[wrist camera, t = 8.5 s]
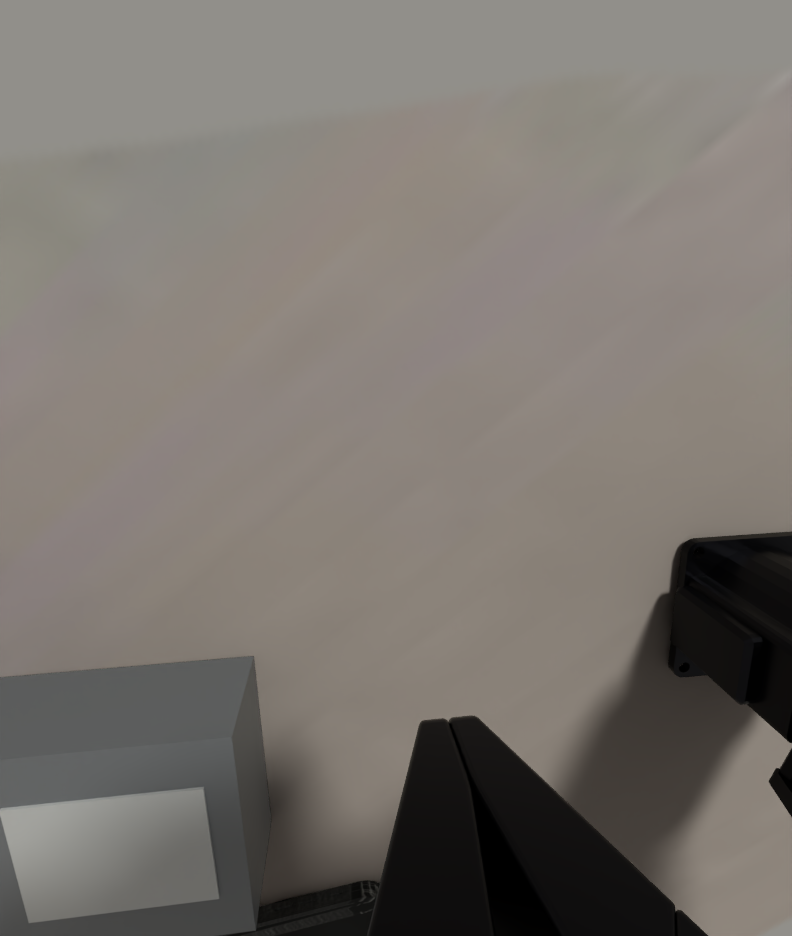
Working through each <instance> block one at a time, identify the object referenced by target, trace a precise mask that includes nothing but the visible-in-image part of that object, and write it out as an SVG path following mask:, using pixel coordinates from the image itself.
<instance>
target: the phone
mask: <svg viewBox="0 0 792 936" xmlns="http://www.w3.org/2000/svg"><path fill="white" fill-rule="evenodd" d="M379 885H380V884H379V883H377V882H375V881H360V882H356V883H352V884H348V885H344V886H340V887H336V888H332V889H328V890H324V891H320V892H316V893H312V894H308V895H304V896H300V897H297V898H293V899H289V900H285V901H281V902H277V903H273V904H269V905H265V906H261V907H259V911H258V918H257V925H256V931H249V932H241V933H234V934H226V935H219V936H367V933H368V929H369V925H370V921H371V917H372V913H373V909H374V905H375V901H376V897H377V893H378V889H379Z"/></svg>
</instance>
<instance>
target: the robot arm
mask: <svg viewBox="0 0 792 936" xmlns="http://www.w3.org/2000/svg"><path fill="white" fill-rule="evenodd" d="M696 548H698V551H697V552H696V553H695V554H693V552H694V550H695V549H696ZM670 640H671V645H670V653H669V662H668V665H669V668H670V669H671V671H672V672H673V673H674V674H675V675H677V676H679V677H691V676H702V675H708V676H709V677H710V678H711V679H712V680H713V681H714V682H715V683H716V684H718V685H719V686H720V687H721V688H722V689H723V690H724V691H725V692H726V693H727V694H728V695H730V696H731V697H732V698H733V699H734V700H735V701H736V702H737V703H739V704H740V705H743V704H747V705H748V706H749V707H751V708H752V709H753V710H754V711H755V712H756V713H757V714H758V715H759V716H761V717H762V718H763V719H764V720H765V721H766V722H767V723H768V724H770V725H771V726H772V727H773V728H774V729H775V730H776V731H777V732H778V733H780V734H781V735H782V736H783V737H784V738H785V739H786V740H787V741H788V742H790V743H792V532H780V533H766V534H751V535H736V536H722V537H707V538H693V539H690V540H688V541H687V542H685V544H684V545H683V547H682V551H681V559H680V568H679V576H678V585H677V591H676V596H675V604H674V613H673V622H672V630H671V639H670ZM682 663H683V665H682V666H680V665H681V664H682ZM769 783H770V785H771V786H772V788H773V789H774V791H775V792H776V794H777V795H778V797H779V798H780V800H781V801H782V803H783V804H784V806H785V807H786V809H787V811H788V812H789V814H790V815H791V817H792V749H791V750H790V752H789V754H788V755H787V757H786V759H785V761H784V762H783V764H782V766H781V768H780V769H779V768H776V769H775V771H774V773H773V775H772V776H771V778H770V780H769ZM367 936H708V935H707V934H706V933H705V932H704V931H703V930H702V929H700V928H699V927H698V926H697V925H696V924H695V923H694V922H693V921H692V920H691V919H690V918H689V917H688V916H687V915H686V914H685V913H684V912H683V911H681V910H677V911H676V913H675V905H674V903H673V902H672V901H671V900H669V899H668V898H667V897H666V896H665V895H664V894H663V893H662V892H661V891H660V890H659V889H658V888H657V887H656V886H655V885H654V884H653V883H652V882H651V881H649V880H648V879H647V878H646V877H645V876H644V875H643V874H642V873H641V872H640V871H639V870H638V869H637V868H636V867H635V866H634V865H633V864H632V863H631V862H629V861H628V860H627V859H626V858H625V857H624V856H623V855H622V854H621V853H620V852H619V851H618V850H617V849H616V848H615V847H614V846H613V845H612V844H610V843H609V842H608V841H607V840H606V839H605V838H604V837H603V836H602V835H601V834H600V833H599V832H598V831H597V830H596V829H595V828H594V827H593V826H592V825H590V824H589V823H588V822H587V821H586V820H585V819H584V818H583V817H582V816H581V815H580V814H579V813H578V812H577V811H576V810H575V809H574V808H573V807H571V806H570V805H569V804H568V803H567V802H566V801H565V800H564V799H563V798H562V797H561V796H560V795H559V794H558V793H557V792H556V791H555V790H554V789H553V788H551V787H550V786H549V785H548V784H547V783H546V782H545V781H544V780H543V779H542V778H541V777H540V776H539V775H538V774H537V773H536V772H535V771H534V770H533V769H531V768H530V767H529V766H528V765H527V764H526V763H525V762H524V761H523V760H522V759H521V758H520V757H519V756H518V755H517V754H516V753H515V752H514V751H512V750H511V749H510V748H509V747H508V746H507V745H506V744H505V743H504V742H503V741H502V740H501V739H500V738H499V737H498V736H497V735H496V734H495V733H494V732H492V731H491V730H490V729H489V728H488V727H487V726H486V725H485V724H484V723H483V722H482V721H481V720H480V719H479V718H477V717H475V716H462V717H453V718H451V719H450V720H449V722H448V721H447V720H446V719H443V718H442V719H432V720H424V721H422V722H421V723H420V724H419V728H418V732H417V736H416V740H415V744H414V748H413V752H412V756H411V760H410V764H409V768H408V772H407V776H406V780H405V784H404V788H403V792H402V796H401V800H400V804H399V808H398V812H397V816H396V820H395V824H394V828H393V833H392V837H391V841H390V845H389V849H388V853H387V857H386V861H385V865H384V869H383V873H382V877H381V881H380V885H379V889H378V893H377V897H376V901H375V905H374V909H373V913H372V917H371V921H370V925H369V929H368V933H367Z"/></svg>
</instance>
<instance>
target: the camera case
mask: <svg viewBox="0 0 792 936" xmlns="http://www.w3.org/2000/svg"><path fill="white" fill-rule="evenodd" d="M270 827H271V812H270V803H269V794H268V784H267V775H266V765H265V756H264V747H263V737H262V728H261V719H260V709H259V700H258V691H257V681H256V672H255V663H254V656H250V657H238V658H226V659H214V660H202V661H190V662H178V663H166V664H155V665H143V666H131V667H119V668H107V669H95V670H83V671H71V672H59V673H47V674H36V675H24V676H12V677H0V936H219V935H226V934H234V933H241V932H249V931H256V925H257V918H258V911H259V904H260V897H261V890H262V883H263V876H264V869H265V862H266V855H267V848H268V841H269V834H270Z"/></svg>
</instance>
